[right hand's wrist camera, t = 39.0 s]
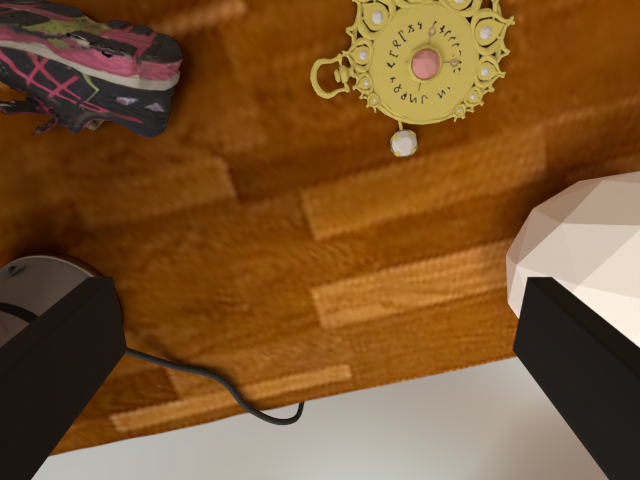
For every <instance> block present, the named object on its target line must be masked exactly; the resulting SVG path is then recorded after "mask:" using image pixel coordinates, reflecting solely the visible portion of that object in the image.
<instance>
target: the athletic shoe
mask: <svg viewBox="0 0 640 480" xmlns="http://www.w3.org/2000/svg"><path fill="white" fill-rule="evenodd" d="M181 62H182V51H181V49H180V47H179V46H178V44H177V43H176V42H175V41H174V40H173V39H172V38H171V37H170V36H168V35H165V34H162V33H159V34H158V35H157V34H156V33H155V32H154V31H153V30H152V29H151V28H149V27H147V26H143V25H140V24H139V25H137V26H135V27H133V26H132V25H131V24H130V23H128V22H123V21H119V20H117V21H116V20H113V21H110V22H107V23H106V22H104V23H103V24H102V23H96V22H95V21H93V20H91V19H90V18H88V17H87V16H85V15H84V14H82V12H81V10H79V9H78V8H73V7H72V5H70V6H64V5H63V4H61V3H59V2H58V3H54V4H51V3H50V2H49V1H45V0H0V81H1V82H2V83H4V84H6V85H8V86H10V88H11V89H15V90H16V91H17V92H19V93H24V94H30V95H31V96H26V100H25V101H7V102H2V101H0V111H1V112H2V113H4V114H43V115H47V116H52V117H53V118H51V119H50V120H49V121H48V122H47V124H43V125H41V126H38V127H37V129H36V132H35V133H32V135H35V134H41V133H43V132H46V131H48V130H50V129H51V128H52V127H53V126H55V125H56V123H57V122H58V124H59V125H60V126H61V127H67V128H68V129H69V131H70V132H71V133H76V134H77V133H78V132H79V131H81V130H82V129H83V128H84V127H87V128H89V129H92V130H95V129H97V128H98V127H99V126H100V125H101V124H102V123H103V122H104V121H105V120H106V121H113V122H115V123H117V124H120V125H122V126H125V127H126V128H128V129H129V130H131V131H132V132H134V133H136V134H137V135H139V136H141V137H143V138H147V137H154V136H156V135H158V134H160V133H162V132H163V130H164V129H165V127H166V125H167V121H168V117H169V115H170V114H171V113H170V110H171V106H172V101H171V98H170V97H171V96H172V95H173V94H174V92H175V84H176V83H178V80H179V76H180V72H179V67H180V64H181ZM14 100H15V99H14Z"/></svg>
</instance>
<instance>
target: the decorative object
mask: <svg viewBox="0 0 640 480" xmlns="http://www.w3.org/2000/svg"><path fill="white" fill-rule="evenodd" d="M352 1H354V2H356V3H357V5H358V10H357V15H356V19H355V23H354V24H353V26H352V27H347V28H346V33H347V34H349V35H350V36H351V38H352V44H351V47H350V49H349V50H348V51H347V52H345V51H344V50H343V51H342V53H343V54H342V55H341V54H338V56H337V57H335V58H333V59H325V58H322V59H319V60H317V61H316V62H315V63H314V65H313V67H312V70H311V78H310V79H311V82H312V86H313V88H314V90H315V91H316V93H317V94H318V95H319V96H321V97H323V98H326V99H329V98H331V97H333V96H335V95H336V94H337V93H338V92H343V91H346V92H347V93H348V92H350V89H349V86H348V85H347V84H346V82H347V81H348V79H349V77H351V76H352V77H353V78H354V77H355V78H356V85H355V86H352V87H353V90H355V89H358V90H359V91H360V92H361V96H360V97H359V98H360V99H362V98H364V99H367V103H368V104H367V105H366V106H367V108H368V107H369V106H370V107H373V109H374V112H376V108H378V109H379V110H380V111H381V112H383V113H384V114H386V115H388V116H389V117H391V118H393V119H395V120H398V124H399V129H400V130H399V131H397V132H395V134H394V135H393V137H392V138H391V140H390V144H391V151H392V152H393V153H394V154H395V155H396V156H398V157H408V156H410V155H412V154H413V153H414V152H415V151H416V149H417V145H418V143H417V137H416V135H415V133H414V132H412V131H411V130H405V129H403V128H402V123H401V122H405V123H409V124H430V123H437V122H441V121H443V120H446V119H449V118H452V117H455V119H454V122H455V121H456V119H457V118H458V117H462V119H464V118H465V116H464V115H465V112H466V111H470V112H472V113H473V112H474V109H473V107H474V106H476V105H478V104H480V105H481V106H482V105H483V103H484V102H482V97H483V95H484V94H485V93H487V92H493V91H494V90H495V89H494V88H493V87H492V83H493V82H494V81H495V80H496V79H497V78H498V77H502V78H504V77H505V76H504V74H505V73H506V72H501V71H500V68H499V64H498V62H499V61H500V60H501V58H502V57H504V56H506V55H508V54H509V52H510V50H508V49H507V48H506V47H505V45H504V41H503V39H504V37H505V33H506V29H507V27H508V26H509V25H510V24H515V21H513V18H514V17H513V16H511V17H510V18H509V19H504V18H503V17H502V14H501V8H500V5H499V2H498V1H499V0H491V2H492V5H493V11H492V10H491V9H490V8H484V9H480V6H481V3H482V1H483V0H473V2H472V5H471V7H469V8H468V9H466V10H463V9H465V8H466V7H467V6H468V5H469V4H470V2H471V1H472V0H439V1H434V0H405V1H404V0H373V3H368V2H369V1H370V0H352ZM378 1H380V2H382V3H383V4H385V5H387V6H388V7H389V12H388V11H387V9H386V7H385V6H384V5H382V4H380V3H379V2H378ZM361 2H362V4H361ZM396 5H397V6H398V7H401V8H399V9H398V10H396ZM479 9H480V10H479ZM461 10H462V11H461ZM362 14H363V15H364V16H363V17H362ZM388 16H389V17H388ZM471 16H472V19H471V24H470V23H469V22H468V21H467V19H466V18H465V17H471ZM486 17H492V19H486V20H481V21H479V19H482V18H486ZM495 18H496V21H495ZM363 19H364V22H365V23H366V25H367V26H368V28H369V29H370V30H372V31H377V32H370V31H369V30H368V28H367V27H366V25H365V24H364V22H363V21H362V20H363ZM478 21H479V22H478ZM477 22H478V23H477ZM504 23H505V24H504ZM476 24H477V25H476ZM503 26H504V27H503ZM352 30H353V31H352ZM358 30H359V33H360V34H361V35H362V36H363V38H359V39H357V31H358ZM349 31H352V33H351V32H349ZM496 38H497V41H496V42H494V43H493V44H492V45H491V46H489V47H488V48H483V47H481V46H486V45H489V44H490V43H492V42H493V41H495V39H496ZM356 39H357V40H356ZM371 40H373V41H372V42H371ZM363 44H366V45H367V46H368V47H369V48H368V47H366V46H364V45H363ZM358 45H362V46H360V47H357V46H358ZM501 50H503V51H504V52H505V53H504V54H501ZM350 52H351V53H350ZM494 52H495V57H494V56H493V55H491V54H493V53H494ZM479 53H480V54H481V55H483V56H482V57H481V58H480V59H479ZM344 56H346V57H347V58H348V60H349V62H350V64H351V67H350V68H347V67H346V66H344V65H343V66H342V57H344ZM351 57H352V58H351ZM336 61H339V64H340V67H339V71H338V70H337V69H336V70H335V71H334V75H335V80H336V81H337V83H338V82H340V80H341V81H342V83H344V88H340V89H336V90H334V91H333V92H331V93H326V92H324V91H323V90H322V89H321V88H320V87H319V85H318V82H317V71H318V69H319V67H320V65H322V64H329V63H334V62H336ZM485 61H488V62H485ZM482 62H485V63H482ZM489 62H490V63H492V64H490V63H489ZM358 64H359V65H358ZM365 64H366V65H365ZM361 65H365V67H364V66H361ZM496 69H497V71H498V72H496ZM353 70H354V71H355V73H354V71H353ZM367 71H368V73H367ZM495 75H496V76H495ZM364 76H366V77H364ZM494 76H495V77H494ZM492 77H494V78H493V79H492V80H491V78H492ZM479 80H481V82H480V81H479ZM474 83H475V86H474V87H472V86H473V84H474ZM486 87H489V89H487V90H485V88H486ZM368 88H369V89H368ZM474 90H476V91H474ZM371 92H372V93H371ZM364 94H365V95H366V96H367V97H366V96H364ZM363 96H364V97H363ZM479 96H480V98H479ZM462 102H463V104H462ZM475 102H477V103H475ZM467 107H471V108H470V109H471V110H470V109H466V108H467Z"/></svg>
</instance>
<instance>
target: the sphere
mask: <svg viewBox="0 0 640 480" xmlns="http://www.w3.org/2000/svg"><path fill="white" fill-rule="evenodd" d="M506 269H507V292H508V304H509V305H510V307H511V308H512V310H513V311H514V313H515V314H516V315H517V317H518V318H519V316H520V311H521V306H522V302H523V297H524V292H525V287H526V282H527V277H553V278H554V279H555V280H556V281H558V282H559V283H560V284H561V285H563V286H564V287H565V288H566V289H568V290H569V291H570V292H571V293H573V294H574V295H575V296H576V297H577V298H579V299H580V300H581V301H582V302H584V303H585V304H586V305H587V306H589V307H590V308H591V309H592V310H594V311H595V312H596V313H597V314H599V315H600V316H601V317H602V318H604V319H605V320H606V321H607V322H609V323H610V324H611V325H612V326H614V327H615V328H616V329H617V330H619V331H620V332H621V333H622V334H624V335H625V336H626V337H627V338H629V339H630V340H631V341H632V342H634V343H635V344H636V345H637V346H639V347H640V171H637V172H631V173H625V174H619V175H613V176H607V177H601V178H595V179H589V180H583V181H578V182H577V183H575V184H573V185H572V186H570V187H568V188H567V189H565V190H563V191H562V192H560V193H558V194H557V195H555V196H553V197H552V198H550V199H548V200H547V201H545V202H543V203H542V204H540V205H538V206H537V207H535V208H533V209H532V211H531V213H530V214H529V216H528V218H527V219H526V221H525V223H524V225H523V226H522V228H521V230H520V231H519V233H518V235H517V236H516V238H515V240H514V241H513V243H512V245H511V247H510V248H509V250H508V252H507V253H506Z"/></svg>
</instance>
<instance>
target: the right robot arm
mask: <svg viewBox="0 0 640 480" xmlns="http://www.w3.org/2000/svg"><path fill="white" fill-rule="evenodd" d="M513 351H514V352H515V354H516V355H517V357H518V358H519V359H520V361H521V362H522V363H523V365H524V366H525V367H526V369H527V370H528V371H529V373H530V374H531V375H532V377H533V378H534V379H535V381H536V382H537V383H538V385H539V386H540V387H541V389H542V390H543V391H544V393H545V394H546V396H547V397H548V398H549V400H550V401H551V402H552V404H553V405H554V406H555V408H556V409H557V410H558V412H559V413H560V414H561V416H562V417H563V418H564V420H565V421H566V422H567V424H568V425H569V426H570V428H571V429H572V430H573V432H574V433H575V435H576V436H577V437H578V439H579V440H580V441H581V443H582V444H583V445H584V447H585V448H586V449H587V451H588V452H589V453H590V455H591V456H592V457H593V459H594V460H595V461H596V463H597V464H598V465H599V467H600V468H601V469H602V471H603V472H604V474H605V475H606V476H607V478H608V479H609V480H640V347H639V346H637V345H636V344H635V343H634V342H632V341H631V340H630V339H629V338H627V337H626V336H625V335H624V334H622V333H621V332H620V331H619V330H617V329H616V328H615V327H614V326H612V325H611V324H610V323H609V322H607V321H606V320H605V319H604V318H602V317H601V316H600V315H599V314H597V313H596V312H595V311H594V310H592V309H591V308H590V307H589V306H587V305H586V304H585V303H584V302H582V301H581V300H580V299H579V298H577V297H576V296H575V295H574V294H573V293H571V292H570V291H569V290H568V289H566V288H565V287H564V286H563V285H561V284H560V283H559V282H558V281H556V280H555V279H554V278H553V277H527V282H526V287H525V292H524V297H523V302H522V306H521V311H520V316H519V321H518V326H517V331H516V336H515V341H514V346H513ZM124 354H127V355H130V356H133V357H136V358H139V359H142V360H146V361H149V362H152V363H155V364H158V365H162V366H165V367H168V368H172V369H175V370H179V371H184V372H189V373H195V374H200V375H204V376H207V377H210V378H212V379H214V380H216V381H218V382H220V383H221V384H222V385H224V386H225V387H226V388H227V389H228V390H229V391H230V393H231V394H232V395H233V397H234V398H235V400H236V401H237V402H238V403H239V405H240V406H241V407H242V408H244V409H245V410H246V411H248V412H249V413H251V414H253V415H255V416H256V417H258V418H260V419H262V420H264V421H267V422H269V423H272V424H277V425H288V424H292V423H294V422H296V421H297V420H298V419H299V418H300V417H301V415H302V412H303V408H304V403H305V402H301V403H299V406H298V410H297V413H296V415H295V416H293V417H291V418H289V419H278V418H273V417H271V416H268V415H266V414H264V413H262V412H260V411H258V410H256V409H255V408H253V407H251V406H250V405H249V404H247V403H246V402H245V401H244V400H243V399H242V397H241V396H240V395H239V393H238V392H237V390H236V389H235V388H234V386H233V385H232V384H231V383H230V382H229V381H228V380H226V379H225V378H223V377H222V376H220V375H218V374H216V373H214V372H211V371H209V370H205V369H201V368H197V367H191V366H186V365H181V364H177V363H174V362H170V361H167V360H164V359H161V358H158V357H154V356H151V355H148V354H145V353H142V352H139V351H136V350H133V349H130V348H127V346H126V341H125V336H124V331H123V326H122V310H121V306H120V302H119V300H118V297H117V295H116V292H115V287H114V282H113V277H103V276H102V275H101V274H100V273H98V272H97V271H96V270H95V269H93V268H92V267H90V266H89V265H87V264H86V263H84V262H82V261H80V260H78V259H76V258H73V257H70V256H67V255H63V254H59V253H52V252H38V253H31V254H28V255H24V256H22V257H19V258H18V259H16V260H14V261H12V262H10V263H8V264H7V265H5V266H4V267H2V268H1V269H0V480H31V479H32V477H33V476H34V475H35V474H36V472H37V471H38V470H39V468H40V467H41V465H42V464H43V463H44V461H45V460H46V459H47V457H48V456H49V455H50V453H51V452H52V451H53V449H54V448H55V447H56V445H57V444H58V443H59V441H60V440H61V439H62V437H63V436H64V435H65V433H66V432H67V430H68V429H69V428H70V426H71V425H72V424H73V422H74V421H75V420H76V418H77V417H78V416H79V414H80V413H81V412H82V410H83V409H84V408H85V406H86V405H87V404H88V402H89V401H90V400H91V398H92V397H93V396H94V394H95V393H96V391H97V390H98V389H99V387H100V386H101V385H102V383H103V382H104V381H105V379H106V378H107V377H108V375H109V374H110V373H111V371H112V370H113V369H114V367H115V366H116V365H117V363H118V362H119V361H120V359H121V358H122V357H123V355H124Z"/></svg>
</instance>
